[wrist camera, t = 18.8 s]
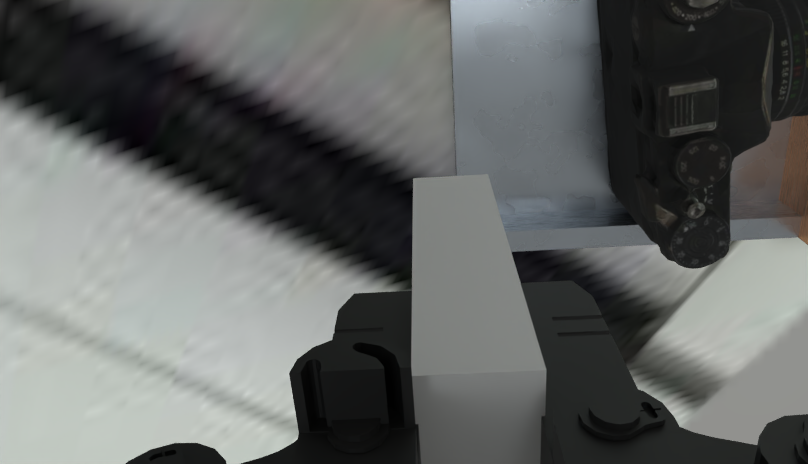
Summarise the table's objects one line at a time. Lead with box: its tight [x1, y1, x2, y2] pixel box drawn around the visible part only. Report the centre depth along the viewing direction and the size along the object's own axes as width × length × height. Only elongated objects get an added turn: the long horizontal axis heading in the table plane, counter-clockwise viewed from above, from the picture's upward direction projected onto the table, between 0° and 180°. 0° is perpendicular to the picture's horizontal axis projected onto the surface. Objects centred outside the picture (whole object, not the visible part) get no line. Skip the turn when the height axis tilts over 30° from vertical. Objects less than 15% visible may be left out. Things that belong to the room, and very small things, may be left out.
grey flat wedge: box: [450, 0, 808, 252], centre depth 32 cm, size 20×19×7 cm
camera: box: [597, 0, 808, 268], centre depth 30 cm, size 14×11×10 cm
